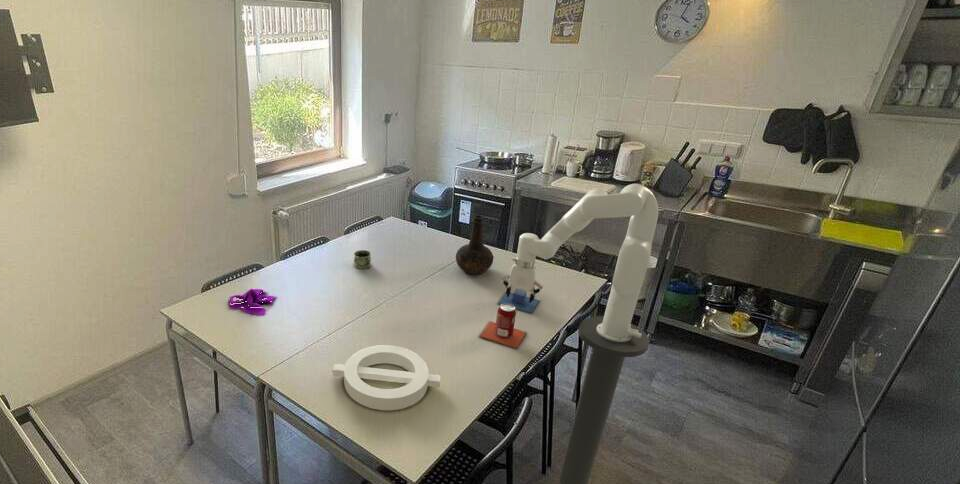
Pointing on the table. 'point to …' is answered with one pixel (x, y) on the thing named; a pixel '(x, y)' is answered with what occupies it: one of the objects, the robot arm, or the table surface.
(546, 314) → the table surface
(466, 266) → the brown vase
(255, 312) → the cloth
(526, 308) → the blue mat
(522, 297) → the blue block
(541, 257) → the robot arm
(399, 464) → the table surface
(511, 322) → the soda can
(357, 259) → the vessel
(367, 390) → the white circle with bar
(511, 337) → the orange mat
